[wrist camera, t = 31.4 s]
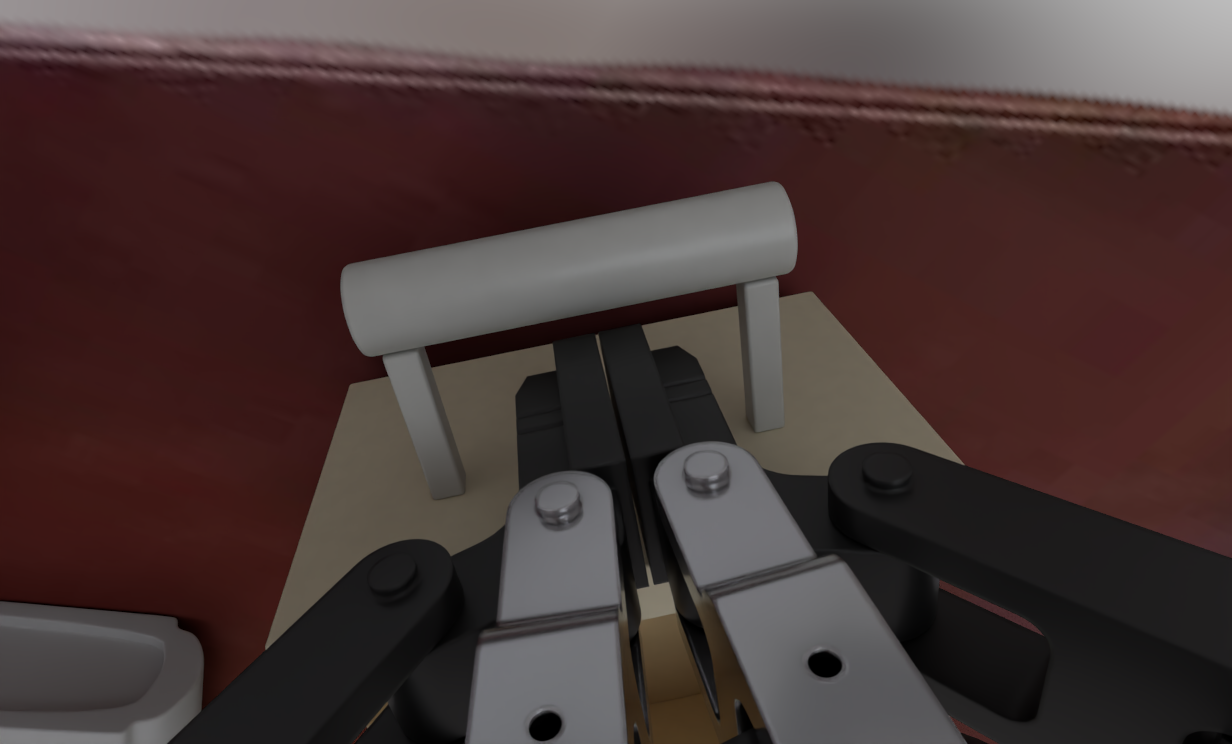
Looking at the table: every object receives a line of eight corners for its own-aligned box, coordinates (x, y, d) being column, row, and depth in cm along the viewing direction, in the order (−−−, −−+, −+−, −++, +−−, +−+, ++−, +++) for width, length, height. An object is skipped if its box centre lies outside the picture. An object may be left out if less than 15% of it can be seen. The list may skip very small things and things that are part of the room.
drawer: (276, 200, 16) (113, 397, 9) (808, 98, 16) (1028, 215, 9) (485, 725, 25) (481, 1015, 18) (819, 651, 25) (934, 907, 19)
